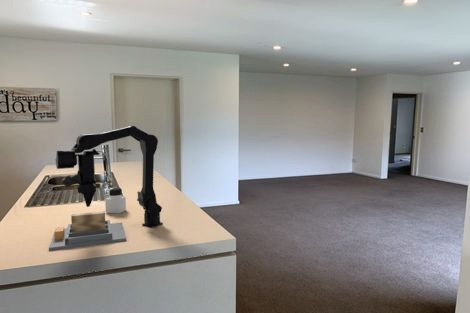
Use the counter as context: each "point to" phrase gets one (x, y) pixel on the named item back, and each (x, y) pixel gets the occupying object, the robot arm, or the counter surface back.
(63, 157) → the robot arm
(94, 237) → the slotted rack
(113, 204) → the medicine bottle
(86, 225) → the oak divider
